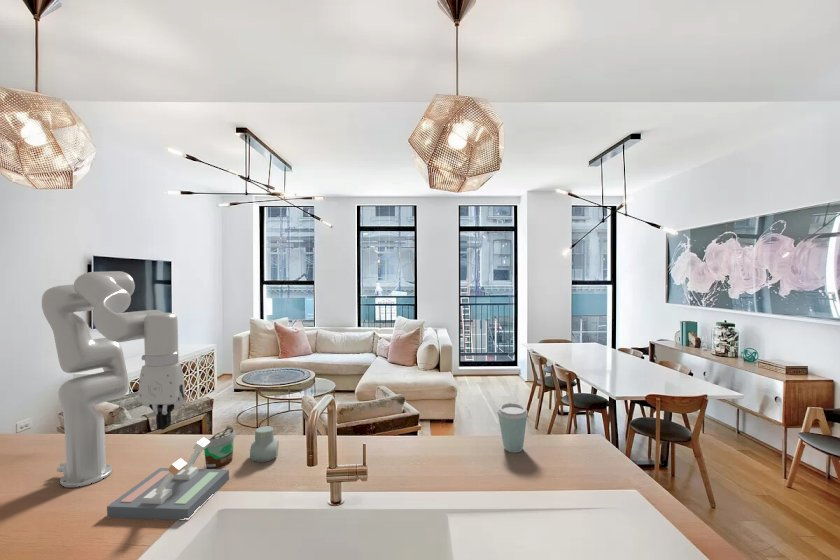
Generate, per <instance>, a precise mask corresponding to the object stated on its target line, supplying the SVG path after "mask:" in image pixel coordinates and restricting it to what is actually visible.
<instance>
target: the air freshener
mask: <svg viewBox="0 0 840 560" xmlns="http://www.w3.org/2000/svg"><path fill="white" fill-rule="evenodd" d="M274 434H275V433H274V427H273V426H270V425H265V426H260V427H258V428H256V429H255V430H254V441H253V442H252V443H251V444H250V449H249V459H250V460H252V461H255V462H257V463H264V462H269V461H272V460H273V459H275V458H276V457H277V456H278V455H279V445H280V444H279V443H280V442H279V439H276V438H275V435H274Z"/></svg>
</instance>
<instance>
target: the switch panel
mask: <svg viewBox="0 0 840 560" xmlns="http://www.w3.org/2000/svg"><path fill="white" fill-rule="evenodd" d="M169 468H170V467H159V468H157V469H156V470H155V471H153V472H152V473H151V474H150V475H148V476H147V477H146V478H144V479H143V480H142V481H140V482H139V483H137V484H136V485H134V486H132V488H130V489H129V490H128V491H127V492H125V493H123V494H122V495H120V497H118V498H117V499H115V500H114V501H113V502H111V503H110V504H109V505H107V506H106V513H107V514H106V518H109V519H110V518H111V519H134V520H135V519H138V520H143V519H144V520H167V521H180V520H179V519H184V518H189V517H190V516H191V515H192V514H193V513H194V511H195V510H196V509H197V508H198V507H199V506H201V505H202V504H203V503H204V502H205V501H206V500H207V499H208V498H209V497H210V496H211V495H212V494H214V493H215V492H216V493H217V492H218V491H219V490H220V489H221V488H222V487H223V486H224V485H225V484H226V483H227V482H228V481H229V480H230V470H229V469H219V468H216V469H206V468H199V467H197V466H192V467H191V468H190V469H189V470H188V471H186V470H184V469H183V470H181V471H180V472H179V473H178V474H176V475H175V476H174V478H173V479H172V480H171V482H170V483H169V484H168V486H167V487H166V488H165V490H164V491H162V492H161V493H160V494H159V495H158V494H157V493H156V492H155V491H156V490H157V488H158V487H159V486H160V484H161V483H162V482H163V480H164V479H165V478H166V476H167V475H168V474H169V471H168V469H169ZM216 493H215V494H216ZM215 494H214V495H215Z"/></svg>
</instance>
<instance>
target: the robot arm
mask: <svg viewBox="0 0 840 560" xmlns="http://www.w3.org/2000/svg"><path fill="white" fill-rule="evenodd" d="M135 288H136V284H135V281H134V278H133V277H132V276H131V275H130V274H129V273H127V272H124V271H120V270H118V271H117V270H116V271H115V270H112V271H90V272H85V273H83V274H81V275H79V276H77V277H76V279H75V280H74V283H73V284H63V285H57V286H52V287H50V288H48V289H46V290H45V291H44V292H43V294H42V296H41V309H42V312H43V315H44V317H45V319H46V321H47V322H48V325H49V326H50V328H51V330H52V333H53V337H54V343H55V348H56V354H57V359H58V362H59V367H60V368H61V370H62V372H64V373H66V374H76V373H77V374H78V373H82V372H83V373H84V372H87V371H92V370H97V369H102V370H103V371H101V372H96V373H91V374H86V375H81V376H76V377H73V378H71V379H68V380H67V381H65V382H63V383H62V384H61V385H60V386H59V390H58V400H59V403H60V407H61V411H62V414H63V416H62V418H63V424H64V441H65V444H64V445H65V461H63V462H61V463H60V464H59V466H58V467H57V468H56V470H55V471H56V472H57V473H63V476H62V477H61V478H60V479H59V483H60V484H61V485H62V486H61V485H60V484H59V485H60V486H61V487H63V486H64V488H79V486H80V487H84V486H88V485H92V484H94V483H97V482H99V481H102V480H104V479H105V478H107V477H108V476H109V475H111V474H112V472H113V465H111V464H109V463H107V460H106V459H107V458H106V457H107V456H106V455H107V454H106V433H105V432H106V431H105V418H104V415H103V414H102V412H100V411H99V410H97V409H96V408H95V406H97V405H100V404H103V403H105V402H106V403H107V402H110V401H113V400H117V399H120V398H122V397H124V396H126V394H127V393H128V392H129V376H128V372H127V371H128V370H127V366H126V361H125V357H124V351H123V348H122V345H121V344H120V343H124V342H130V341H131V342H132V341H137V340H142V339H143V341H144V354H143V355H141V361H144V365H142V366H141V368H140V369H141V370H140V374H139V380H138V402H139V404H142V405H143V406H144V407H148V408H149V409H151V410H152V412H153V414H154V416H155V420H156V422H155V424H156V430H157V431H159V430H161V431H164V430H166V429H167V428H169V427H170V426H171V425H172V412H173V411H174V409H177V408H180V407H182V406H184V404H185V401H184V398H185V394H186V385H185V379H184V378H185V377H184V373H183V368H182V364H181V363H180V362H179V360H180V359H179V334H178V333H179V332H178V331H179V330H178V327H179V326H178V324H179V323H178V317H177V315H176V314H175V313H173V312H163V311H162V310H158V309H149V310H148V309H147V310H138V311H127V312H126V310H128V308H129V307H130V305H131V301H132V297H131V296H132V295H133V294H134V292H135ZM90 311H91V312H92V323H93V324H94V327H95V329H96V330H97V332H98V333H100V334H101V335H102V336H103V337H99V338H92V336H91V332H90V331H91V330H90V327H89V324H88V323H87V322H86V321H85V320H84V319H83V318H82V317H81V316H79V315H77V314H76V313H78V312H90ZM103 478H104V479H103ZM91 483H92V484H91Z"/></svg>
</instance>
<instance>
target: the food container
mask: <svg viewBox="0 0 840 560" xmlns="http://www.w3.org/2000/svg"><path fill="white" fill-rule="evenodd" d="M236 435H237V434H236V431H235V429H234V427H233V426H229V425H226V429H223V431H221V432H218V433H216V434H214V435H213V436H212V437H211V438H209V439H207V440H208V441H210V443H209V445H208V446H207V448H205V449H204V450H203V452H204V460H205V461H204V462H205V469H220V468H223V467H226V466H228V465H229V464H230V463H232V462H233V456H234V439H235V438H236Z"/></svg>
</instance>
